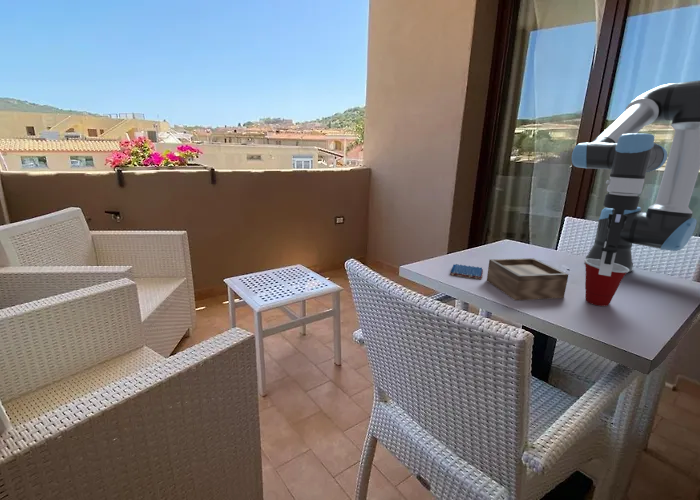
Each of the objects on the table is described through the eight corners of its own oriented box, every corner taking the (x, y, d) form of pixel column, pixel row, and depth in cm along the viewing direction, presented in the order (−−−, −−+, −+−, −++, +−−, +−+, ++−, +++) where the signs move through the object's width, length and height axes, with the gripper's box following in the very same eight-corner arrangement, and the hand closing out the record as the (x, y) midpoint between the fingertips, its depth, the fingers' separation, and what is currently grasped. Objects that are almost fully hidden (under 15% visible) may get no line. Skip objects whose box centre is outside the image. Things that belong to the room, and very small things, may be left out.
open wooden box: (529, 279, 124) (533, 258, 122) (563, 298, 109) (568, 274, 107) (486, 280, 121) (489, 259, 119) (515, 300, 106) (518, 276, 104)
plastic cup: (628, 312, 100) (639, 271, 97) (585, 308, 102) (594, 267, 99) (609, 297, 110) (618, 259, 107) (570, 293, 112) (578, 256, 109)
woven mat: (482, 281, 122) (482, 275, 121) (449, 276, 126) (450, 271, 125) (483, 272, 131) (483, 266, 131) (452, 268, 135) (453, 263, 134)
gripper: (607, 189, 109) (591, 257, 115) (604, 196, 90) (586, 277, 95) (638, 192, 105) (620, 261, 111) (643, 199, 86) (621, 283, 91)
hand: (605, 269), depth 103 cm, fingers open, 13 cm apart
